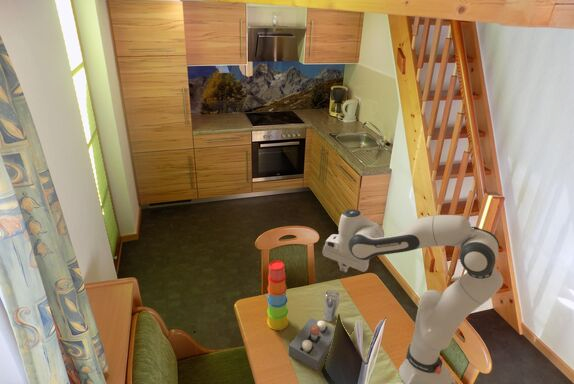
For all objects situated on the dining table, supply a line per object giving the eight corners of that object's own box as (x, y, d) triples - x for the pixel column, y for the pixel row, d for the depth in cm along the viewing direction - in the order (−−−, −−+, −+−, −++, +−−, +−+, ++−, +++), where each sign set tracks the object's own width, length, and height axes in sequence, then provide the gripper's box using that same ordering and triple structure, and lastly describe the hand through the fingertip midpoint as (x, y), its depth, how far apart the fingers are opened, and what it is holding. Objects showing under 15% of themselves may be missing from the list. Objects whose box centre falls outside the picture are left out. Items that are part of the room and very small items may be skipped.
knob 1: (312, 352, 166) (313, 342, 163) (308, 359, 163) (309, 349, 160) (304, 348, 168) (305, 338, 165) (299, 354, 165) (300, 344, 162)
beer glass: (335, 323, 184) (339, 300, 177) (321, 321, 185) (324, 298, 178) (337, 313, 190) (340, 290, 183) (323, 310, 191) (325, 287, 184)
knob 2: (326, 332, 176) (327, 323, 173) (322, 338, 173) (323, 328, 170) (318, 328, 178) (319, 319, 174) (314, 334, 174) (315, 324, 171)
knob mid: (320, 337, 169) (321, 327, 166) (315, 343, 166) (317, 333, 163) (312, 333, 171) (313, 323, 168) (307, 339, 168) (308, 329, 165)
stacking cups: (274, 334, 177) (276, 276, 160) (263, 319, 184) (264, 262, 168) (292, 325, 182) (296, 268, 165) (281, 311, 189) (284, 255, 173)
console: (336, 340, 175) (337, 330, 172) (316, 370, 161) (317, 361, 158) (309, 326, 182) (310, 317, 179) (288, 354, 167) (289, 345, 165)
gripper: (373, 249, 157) (368, 275, 164) (328, 233, 167) (326, 258, 173) (367, 257, 153) (363, 284, 159) (322, 240, 162) (319, 265, 169)
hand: (343, 270), depth 166 cm, fingers closed
